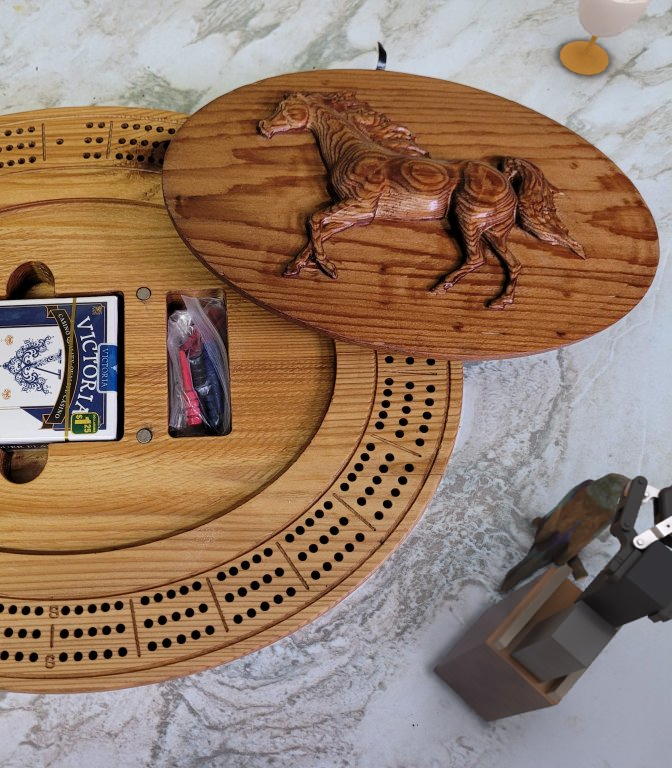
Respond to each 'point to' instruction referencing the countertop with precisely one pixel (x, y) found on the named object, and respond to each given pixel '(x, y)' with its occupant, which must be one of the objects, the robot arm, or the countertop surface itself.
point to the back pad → (633, 588)
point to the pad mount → (552, 635)
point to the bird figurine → (570, 528)
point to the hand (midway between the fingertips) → (633, 599)
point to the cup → (600, 32)
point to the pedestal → (490, 667)
